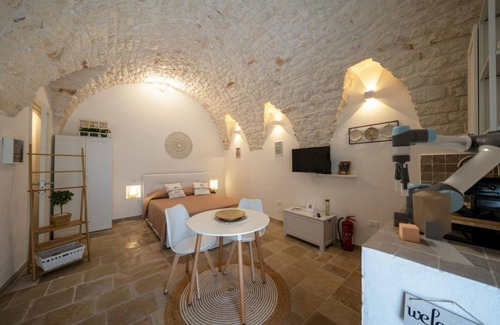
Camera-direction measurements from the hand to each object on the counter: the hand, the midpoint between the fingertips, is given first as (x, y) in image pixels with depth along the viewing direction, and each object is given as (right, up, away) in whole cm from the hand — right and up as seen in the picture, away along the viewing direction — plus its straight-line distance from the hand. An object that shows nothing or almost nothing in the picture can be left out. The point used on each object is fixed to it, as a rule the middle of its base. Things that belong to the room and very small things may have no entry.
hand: (401, 193), depth 101 cm
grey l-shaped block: (-2, -20, -24) cm, 31 cm away
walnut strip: (-5, -20, -9) cm, 23 cm away
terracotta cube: (-8, -19, -14) cm, 25 cm away
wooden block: (+10, -18, -7) cm, 22 cm away
